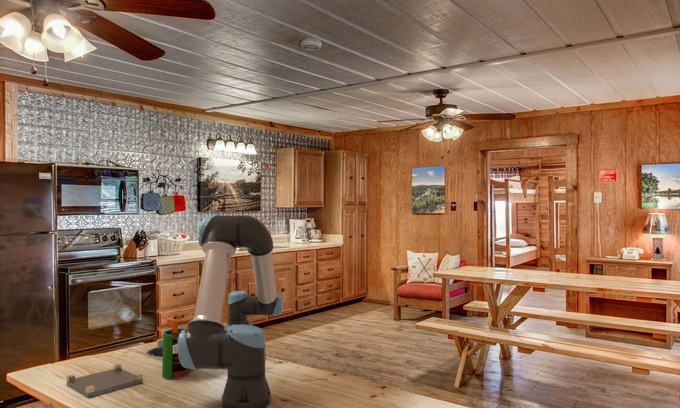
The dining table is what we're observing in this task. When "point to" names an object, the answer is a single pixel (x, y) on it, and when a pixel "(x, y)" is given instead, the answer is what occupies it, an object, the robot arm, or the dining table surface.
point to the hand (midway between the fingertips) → (165, 346)
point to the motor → (170, 360)
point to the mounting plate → (104, 381)
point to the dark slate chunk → (156, 352)
